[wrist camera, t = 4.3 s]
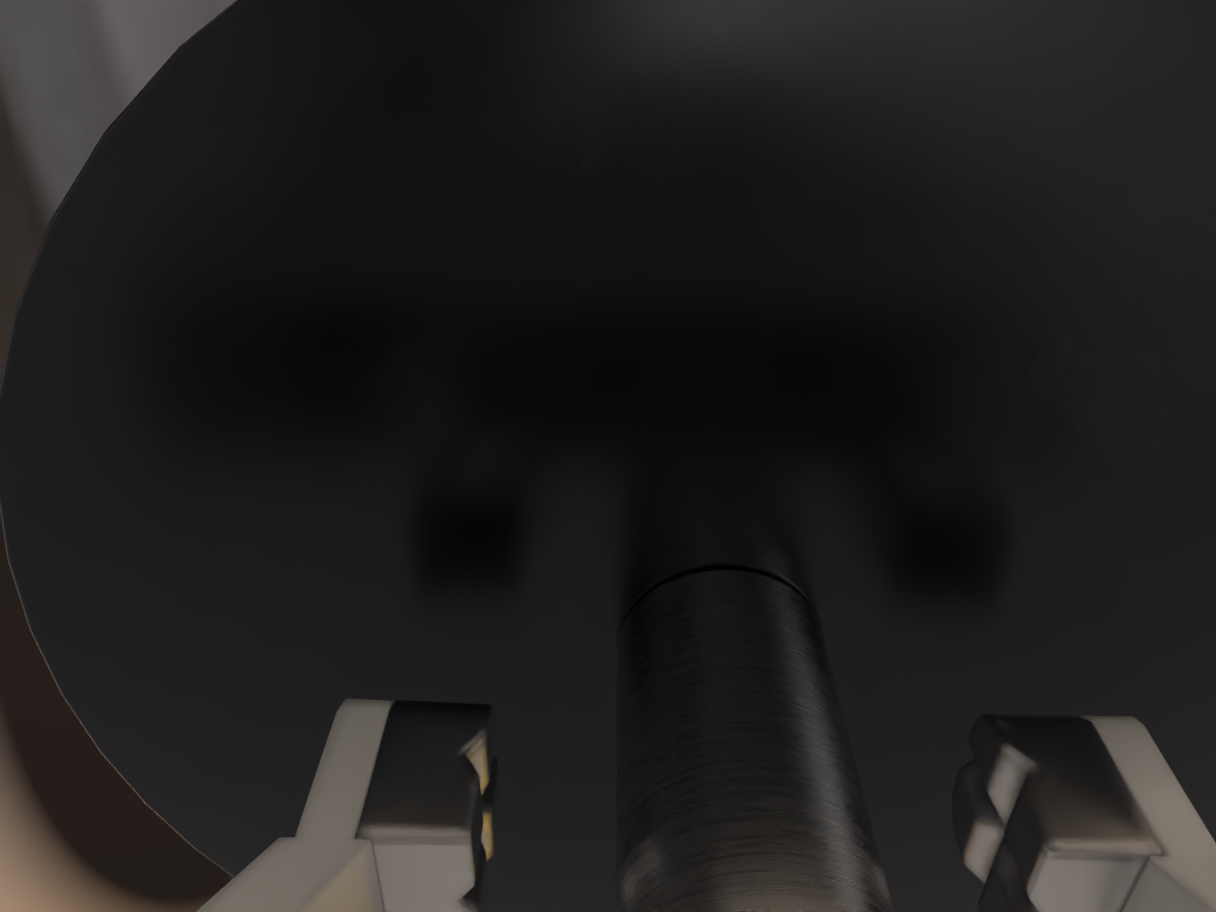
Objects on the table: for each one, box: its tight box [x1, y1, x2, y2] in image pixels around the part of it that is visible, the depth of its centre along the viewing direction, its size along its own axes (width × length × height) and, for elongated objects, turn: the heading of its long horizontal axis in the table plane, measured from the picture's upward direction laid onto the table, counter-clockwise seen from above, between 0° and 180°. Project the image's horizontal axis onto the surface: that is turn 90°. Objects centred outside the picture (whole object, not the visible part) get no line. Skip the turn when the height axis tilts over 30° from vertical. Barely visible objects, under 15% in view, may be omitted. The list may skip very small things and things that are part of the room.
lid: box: [0, 0, 1216, 912], centre depth 10 cm, size 16×16×6 cm
